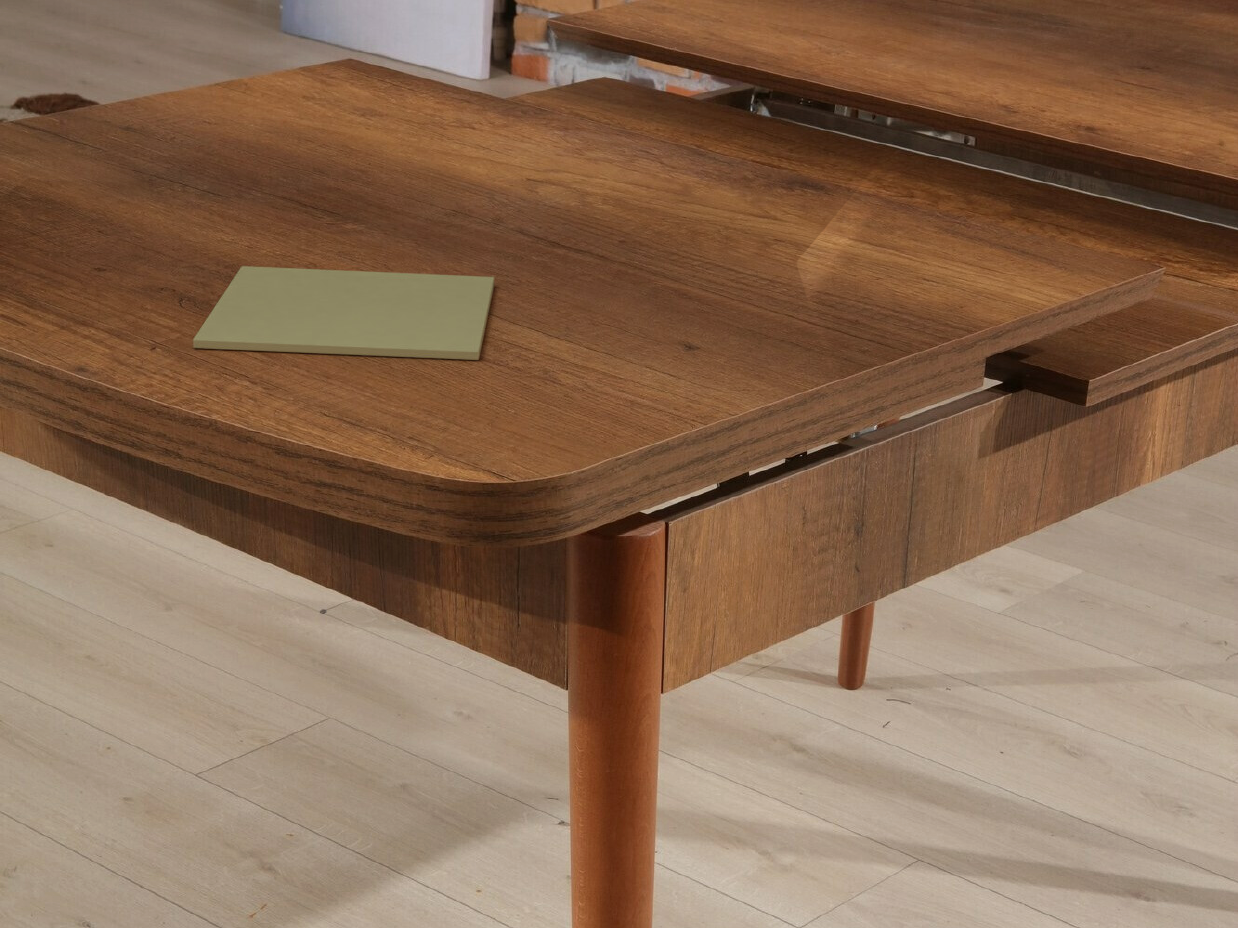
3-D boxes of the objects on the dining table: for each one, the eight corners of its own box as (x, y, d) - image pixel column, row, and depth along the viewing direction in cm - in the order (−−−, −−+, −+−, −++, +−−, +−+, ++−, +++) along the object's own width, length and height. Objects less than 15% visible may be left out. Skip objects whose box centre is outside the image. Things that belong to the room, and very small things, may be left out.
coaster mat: (193, 348, 69) (192, 339, 69) (241, 273, 78) (241, 265, 78) (478, 360, 70) (478, 351, 69) (494, 284, 79) (494, 276, 79)
